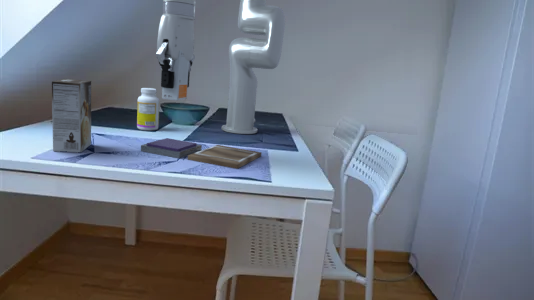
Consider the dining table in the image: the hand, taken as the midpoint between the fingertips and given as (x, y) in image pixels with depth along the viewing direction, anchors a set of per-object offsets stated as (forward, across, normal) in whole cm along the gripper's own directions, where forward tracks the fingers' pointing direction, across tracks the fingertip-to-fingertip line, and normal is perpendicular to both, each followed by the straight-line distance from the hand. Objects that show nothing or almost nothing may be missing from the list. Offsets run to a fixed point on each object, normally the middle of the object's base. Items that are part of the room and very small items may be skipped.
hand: (175, 86), depth 102 cm
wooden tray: (+16, -3, +14) cm, 22 cm away
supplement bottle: (+17, -20, -22) cm, 34 cm away
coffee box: (+17, +14, -19) cm, 29 cm away
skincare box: (+3, 0, 0) cm, 3 cm away
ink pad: (+16, 0, 0) cm, 16 cm away
